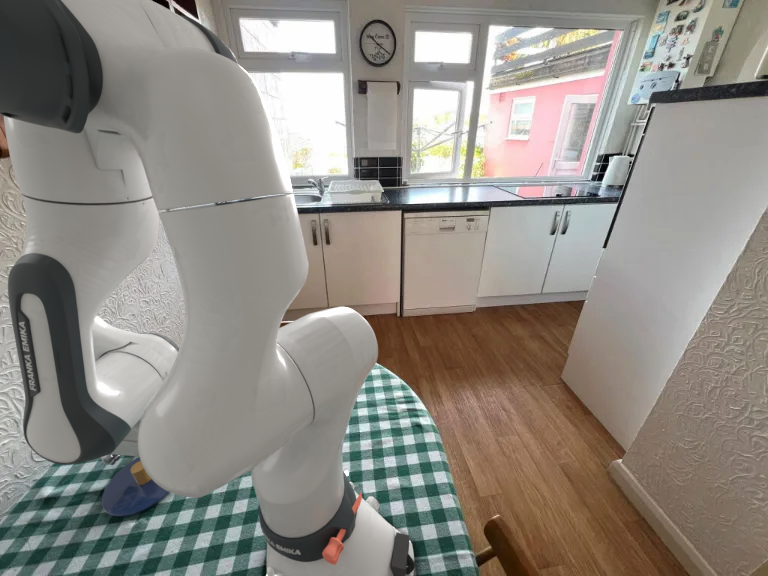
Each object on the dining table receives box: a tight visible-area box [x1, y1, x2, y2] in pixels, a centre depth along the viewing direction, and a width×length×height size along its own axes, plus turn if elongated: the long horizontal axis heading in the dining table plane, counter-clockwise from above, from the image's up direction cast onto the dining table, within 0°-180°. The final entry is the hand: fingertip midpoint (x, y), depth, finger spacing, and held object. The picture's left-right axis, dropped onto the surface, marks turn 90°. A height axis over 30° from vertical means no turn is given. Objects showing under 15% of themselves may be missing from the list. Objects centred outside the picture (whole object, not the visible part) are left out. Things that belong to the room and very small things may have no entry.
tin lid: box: [101, 457, 171, 518], centre depth 57 cm, size 13×13×5 cm
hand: (136, 464), depth 56 cm, fingers open, 8 cm apart
